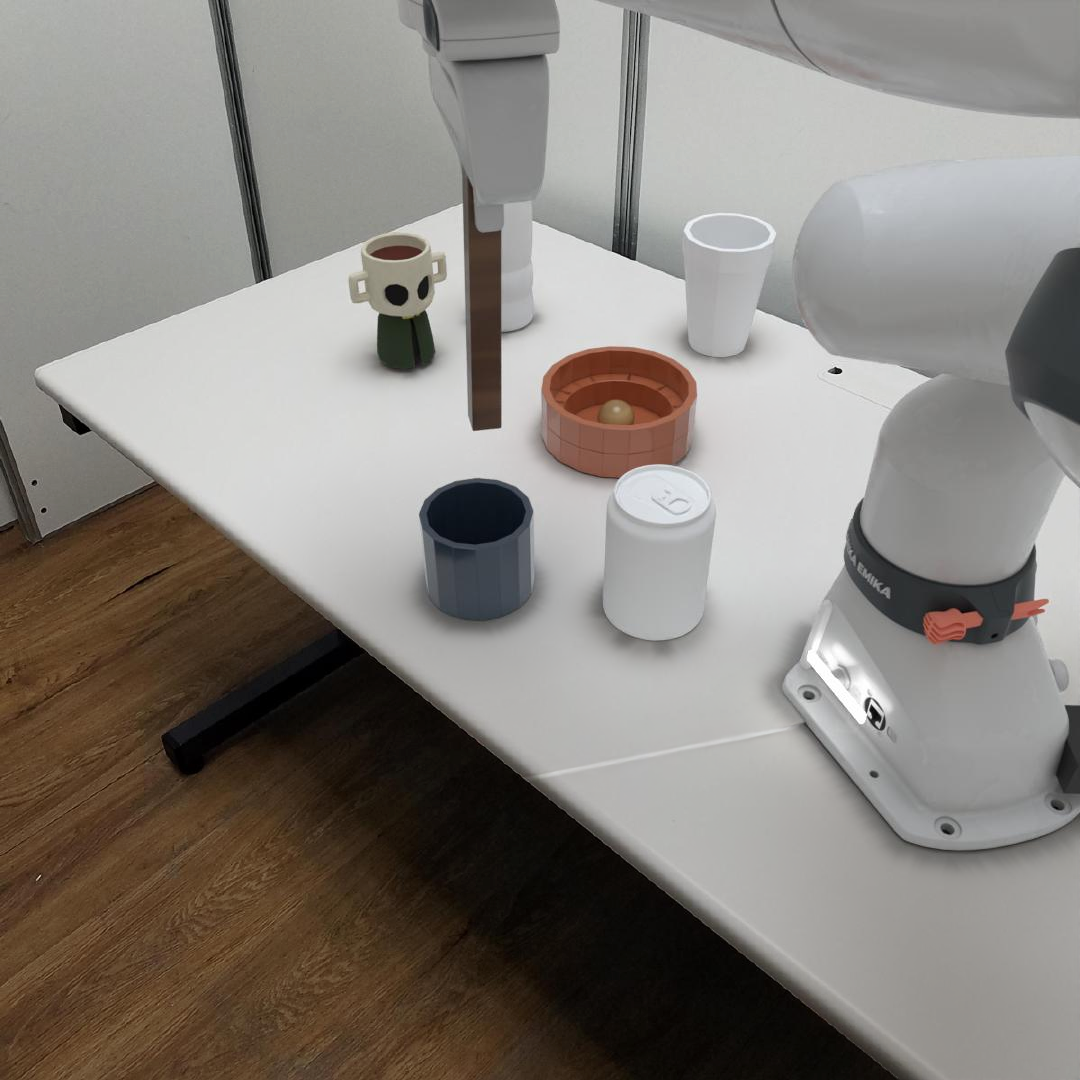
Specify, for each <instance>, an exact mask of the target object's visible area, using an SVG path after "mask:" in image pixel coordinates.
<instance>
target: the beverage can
mask: <svg viewBox="0 0 1080 1080" xmlns="http://www.w3.org/2000/svg"><path fill="white" fill-rule="evenodd" d="M716 516H717V508H716V504H715V501H714V499H713V497H712V492H711V489H710V486H709V485H708V483H707V482H706V481H705V480H704V479H703V478H702V477H701V476H699V475H698V474H696V473H695V472H693V471H691V470H689V469H686V468H685V467H684V468H683V467H681V466H677V465H672V466H671V465H660V464H658V465H647V466H642V467H638V468H635V469H633V470H631V471H629V472H627V473H625V474H624V475H623V476H622V477H621V478H619V479H618V480H617V481H616V483H615V485H614V488H613V489H612V491H611V492H610V494H609V496H608V499H607V502H606V513H605V536H604V537H605V540H604V560H603V561H604V562H603V588H602V607H603V608H602V609H603V612H604V614H605V616H606V618H607V620H609V622H610V623H611V624H612V625H613V626H614V627H615V628H616V629H618V630H619V631H620V632H623V633H624V634H626V635H628V636H631V637H634V638H637V639H641V640H645V641H668V640H674V639H676V638H679V637H682V636H684V635H686V634H688V633H689V632H691V631H692V630H694V629H695V628H696V627H697V626H698V624H699V623H700V622H701V621H702V618H703V616H704V615H703V614H704V612H705V611H704V610H705V605H706V604H705V603H706V596H707V587H708V580H709V573H710V572H709V571H710V565H711V557H712V548H713V540H714V533H715V525H716Z"/></svg>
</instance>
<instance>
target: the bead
mask: <svg viewBox="0 0 1080 1080" xmlns="http://www.w3.org/2000/svg"><path fill="white" fill-rule="evenodd" d="M634 420H635V416H634V412H633V410H632V408H631V407H630V405H629V404H627V403H626V402H624V401H622V400H611V401H608V402H606V403H605V404H604V405H603V406H602V407H601V408H600V410H599V412H598V416H597V421H598V423H602V424H615V425H634Z"/></svg>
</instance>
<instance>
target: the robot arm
mask: <svg viewBox="0 0 1080 1080" xmlns="http://www.w3.org/2000/svg"><path fill="white" fill-rule="evenodd" d="M594 1H596V2H599V3H602V4H606V5H609V6H613V7H617V8H621V9H625V10H628V11H631V12H635V13H638V14H643V15H646V16H649V17H654V18H657V19H660V20H663V21H667V22H670V23H674V24H676V25H681V26H684V27H686V28H689V29H691V30H695V31H699V32H701V33H704V34H707V35H709V36H713V37H715V38H718V39H721V40H724V41H727V42H730V43H733V44H736V45H739V46H741V47H745V48H748V49H751V50H754V51H757V52H760V53H763V54H766V55H769V56H770V57H773V58H777V59H780V60H783V61H786V62H788V63H791V64H793V65H796V66H800V67H802V68H806V69H808V70H810V71H814V72H817V73H820V74H822V75H825V76H828V77H831V78H834V79H837V80H841V81H843V82H846V83H849V84H852V85H856V86H858V87H861V88H865V89H868V90H871V91H874V92H878V93H882V94H886V95H890V96H894V97H899V98H904V99H907V100H912V101H916V102H921V103H926V104H929V105H934V106H941V107H947V108H952V109H953V108H954V109H960V110H965V111H971V112H977V113H986V114H995V115H1006V116H1015V117H1025V118H1026V117H1027V118H1046V119H1047V118H1048V119H1068V120H1069V119H1070V120H1071V119H1072V120H1080V0H594ZM397 10H398V12H397V13H398V18H399V21H400V23H402V24H403V25H404V26H405V27H407V28H409V29H411V30H414V31H416V32H417V33H418V34H419V35H420V36H421V41H422V42H421V43H422V50H423V51H424V52H425V53H426V54H427V59H428V60H427V61H428V62H427V63H428V77H429V86H430V91H431V96H432V100H433V102H434V104H435V106H436V109H437V110H438V113H439V115H440V117H441V119H442V121H443V124H444V126H445V128H446V130H447V133H448V135H449V137H450V139H451V142H452V144H453V146H454V149H455V151H456V152H457V157H458V162H459V167H460V172H461V173H462V164H463V167H464V169H465V171H466V173H467V176H468V178H469V180H470V182H471V185H472V187H473V198H472V208H473V220H474V222H475V225H476V227H477V229H478V231H480V232H482V233H483V232H493V231H499V230H501V229H502V228H503V226H504V204H508V203H517V202H526V201H531V200H532V201H534V200H536V199H537V198H538V196H539V194H540V192H541V190H542V186H543V182H544V178H545V171H546V158H547V144H548V129H549V128H548V127H549V111H550V68H549V61H548V57H547V55H551V54H556V53H557V52H558V51H559V49H560V45H561V43H560V42H561V21H560V15H559V11H558V6H557V4H556V0H397ZM791 263H792V264H791V284H792V291H793V296H794V297H793V298H794V300H795V304H796V307H797V310H798V313H799V316H800V318H801V319H802V322H803V323H804V325H805V327H806V329H807V330H808V331H809V333H810V335H811V336H812V337H813V339H814V340H815V341H816V343H818V344H819V346H821V347H822V348H823V350H824V351H826V352H827V353H828V354H829V355H830V356H831V355H832V356H835V357H839V358H846V359H851V360H858V361H864V362H871V363H877V364H882V365H883V364H885V365H891V366H897V367H898V366H899V367H906V368H910V369H911V368H912V369H917V370H924V371H927V372H928V371H929V372H932V373H933V372H934V373H938V375H937V376H934V377H932V378H930V379H929V380H927V381H925V382H922V383H921V384H919V385H918V386H917V387H915V388H913V389H911V390H910V391H909V392H908V393H906V394H905V395H904V396H903V397H902V398H901V399H900V400H898V402H897V403H896V404H895V405H894V406H893V407H892V408H891V410H890V412H889V413H888V415H887V416H886V417H885V419H884V421H883V423H882V425H881V427H880V430H879V434H878V436H877V437H878V438H877V442H876V447H875V451H874V455H873V458H872V463H871V467H870V471H869V475H868V479H867V483H866V487H865V492H864V495H863V497H862V498H861V500H859V502H858V503H857V504H856V507H855V508H854V511H853V515H852V518H851V519H850V521H849V524H848V526H847V530H846V535H845V545H844V549H843V562H844V564H843V567H842V568H841V569H840V571H839V574H838V575H837V577H836V579H835V580H834V582H833V583H832V585H831V587H830V589H829V590H828V591H827V593H826V595H825V596H824V598H823V599H822V601H821V604H820V606H819V608H818V610H817V613H816V615H815V618H814V620H813V623H812V626H811V629H810V632H809V634H808V637H807V639H806V643H805V645H804V648H803V651H802V654H801V657H800V660H799V661H798V662H797V663H796V664H794V665H793V667H791V669H790V670H789V671H788V672H787V673H786V675H785V677H784V679H783V682H782V684H781V689H782V692H783V694H784V695H785V696H786V698H787V699H788V700H789V702H790V703H791V705H793V707H795V709H796V710H797V711H798V712H799V714H800V715H801V716H802V718H803V720H804V721H805V722H804V723H805V725H807V727H808V728H809V729H810V731H812V733H813V734H814V735H815V736H816V737H817V739H818V740H819V742H820V743H821V744H822V746H824V747H825V749H826V750H827V751H828V752H829V753H830V754H831V756H832V757H833V759H834V760H835V761H836V762H837V763H838V764H839V765H840V767H841V768H842V769H843V771H844V772H845V773H846V774H847V776H849V778H850V779H851V780H852V781H853V783H854V784H855V785H856V786H857V787H858V789H860V791H861V792H862V793H863V795H864V796H865V797H866V798H867V799H868V800H869V802H870V803H871V805H872V806H873V807H874V808H875V809H876V811H877V812H878V813H879V814H880V815H881V816H882V818H883V819H884V820H885V821H886V822H887V824H888V825H889V826H890V827H891V829H893V831H894V832H895V833H896V834H897V835H898V836H899V837H900V838H901V839H902V840H904V841H906V842H908V843H911V844H915V845H918V846H921V847H926V848H929V849H930V848H931V849H938V850H943V851H976V850H977V851H978V850H979V851H980V850H985V849H986V850H987V849H995V848H999V847H1004V846H1010V845H1015V844H1020V843H1023V842H1027V841H1030V840H1034V839H1037V838H1039V837H1043V836H1045V835H1048V834H1050V833H1053V832H1055V831H1057V830H1059V829H1061V828H1063V827H1065V826H1066V825H1067V824H1069V823H1071V821H1073V820H1074V819H1075V818H1076V817H1077V816H1078V815H1079V814H1080V704H1079V705H1078V704H1074V705H1073V704H1065V703H1064V700H1063V697H1062V695H1061V694H1062V693H1063V692H1064V691H1066V690H1067V688H1068V686H1069V681H1070V678H1069V677H1070V676H1069V671H1068V667H1067V666H1066V664H1065V662H1064V661H1062V659H1061V660H1060V659H1058V658H1049V656H1048V654H1047V651H1046V648H1045V645H1044V643H1043V639H1042V637H1041V634H1040V632H1039V629H1038V622H1039V621H1038V615H1041V614H1043V613H1045V612H1046V609H1045V608H1042V607H1044V606H1046V605H1047V604H1049V603H1050V600H1049V598H1040V599H1036V600H1035V594H1036V593H1035V589H1036V574H1037V570H1038V569H1037V568H1038V563H1037V547H1036V541H1037V539H1038V536H1039V534H1040V531H1041V529H1042V526H1043V524H1044V521H1045V519H1046V516H1047V514H1048V512H1049V510H1050V508H1051V505H1052V503H1053V501H1054V499H1055V497H1056V494H1057V493H1058V490H1059V489H1060V486H1061V485H1062V482H1063V480H1064V478H1065V476H1066V477H1067V478H1068V479H1069V480H1070V481H1071V482H1072V483H1073V484H1074V485H1075V486H1076V487H1078V489H1080V154H1067V155H1065V154H1064V155H1041V156H1038V155H1037V156H1013V157H1011V156H1010V157H991V158H990V157H988V158H987V157H985V158H983V157H982V158H955V159H954V158H952V159H931V160H930V159H929V160H924V161H918V162H911V163H907V164H902V165H901V164H900V165H896V166H893V167H892V166H891V167H888V168H882V169H878V170H875V171H874V170H873V171H870V172H866V173H862V174H858V175H854V176H850V177H846V178H842V179H839V180H836V181H835V182H833V183H832V184H831V185H830V186H829V187H828V188H827V189H826V190H825V191H824V192H823V193H822V194H821V195H820V197H819V198H818V199H817V201H816V202H815V203H814V205H813V206H812V208H811V209H810V211H809V213H808V214H807V215H806V217H805V219H804V221H803V224H802V225H801V228H800V230H799V233H798V235H797V239H796V242H795V245H794V250H793V254H792V262H791ZM1056 808H1057V809H1056ZM944 831H946V832H948V833H949V834H947V833H945V832H944Z"/></svg>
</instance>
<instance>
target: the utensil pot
mask: <svg viewBox="0 0 1080 1080" xmlns="http://www.w3.org/2000/svg"><path fill="white" fill-rule="evenodd" d="M534 513H535V512H534V508H533V506H532V503H531V499H530V498H529V497H528V496H527V494H525V493H524V492H523V491H522V490H520V489H519V488H518V487H517V486H515V485H513V484H510V483H507V482H505V481H502V480H500V479H493V478H484V477H483V478H482V477H473V478H466V479H460V480H459V479H458V480H455V481H452V482H450V483H448V484H445V485H443V486H440V487H438V488H437V489H435V490H434V491H433V492H432V493H431V494H429V496H427V497H426V498H425V499H424V500H423V503H422V505H421V508H420V510H419V513H418V519H419V529H420V540H421V549H422V557H423V566H424V567H423V568H424V578H425V586H426V589H427V594H428V598H429V599H430V600H431V602H432V603H433V604H434V606H435V607H437V608H438V609H439V610H440V611H441V612H443V613H444V614H446V615H449V616H451V617H454V618H457V619H460V620H466V621H479V622H480V621H481V622H483V621H490V620H494V619H499V618H503V617H506V616H507V615H510V614H512V613H513V612H515V611H517V610H519V609H520V608H521V607H522V606H524V604H525V603H526V602H527V601H528V600H529V598H530V597H531V596H532V593H533V590H534V585H535V578H536V577H535V520H534V519H535V517H534Z"/></svg>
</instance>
